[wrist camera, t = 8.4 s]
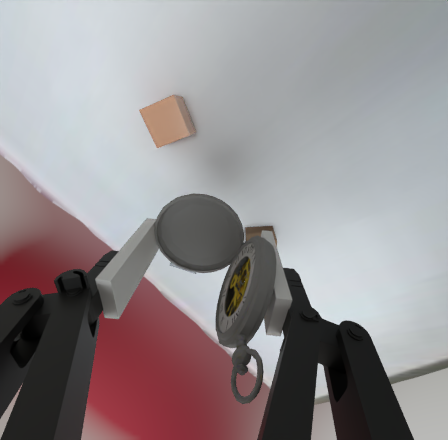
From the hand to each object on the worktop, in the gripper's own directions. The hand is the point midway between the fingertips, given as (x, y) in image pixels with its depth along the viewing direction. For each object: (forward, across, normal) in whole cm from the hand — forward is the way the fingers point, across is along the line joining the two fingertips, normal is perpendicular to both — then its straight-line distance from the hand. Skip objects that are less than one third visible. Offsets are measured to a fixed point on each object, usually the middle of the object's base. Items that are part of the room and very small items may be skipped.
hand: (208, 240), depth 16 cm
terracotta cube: (+21, -8, +7) cm, 24 cm away
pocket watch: (+1, 0, 0) cm, 1 cm away
